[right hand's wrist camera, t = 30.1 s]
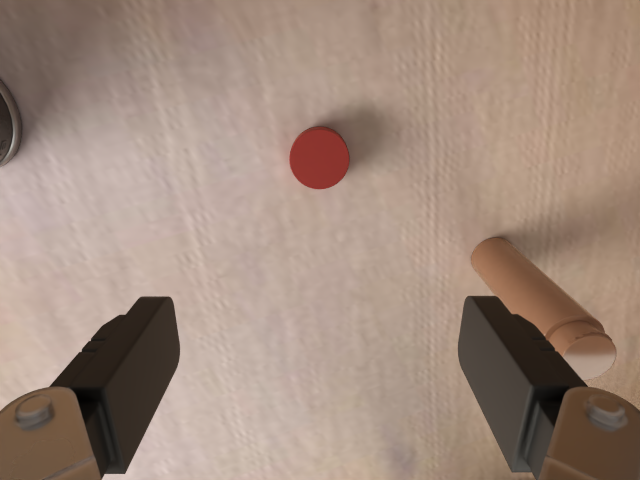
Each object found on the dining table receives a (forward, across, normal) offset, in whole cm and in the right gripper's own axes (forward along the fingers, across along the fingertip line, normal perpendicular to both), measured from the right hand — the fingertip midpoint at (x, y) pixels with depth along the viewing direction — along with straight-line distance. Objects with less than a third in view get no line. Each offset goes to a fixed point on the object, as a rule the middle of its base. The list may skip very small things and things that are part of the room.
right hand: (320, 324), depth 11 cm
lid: (+24, 0, 0) cm, 24 cm away
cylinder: (+26, +16, -10) cm, 32 cm away
